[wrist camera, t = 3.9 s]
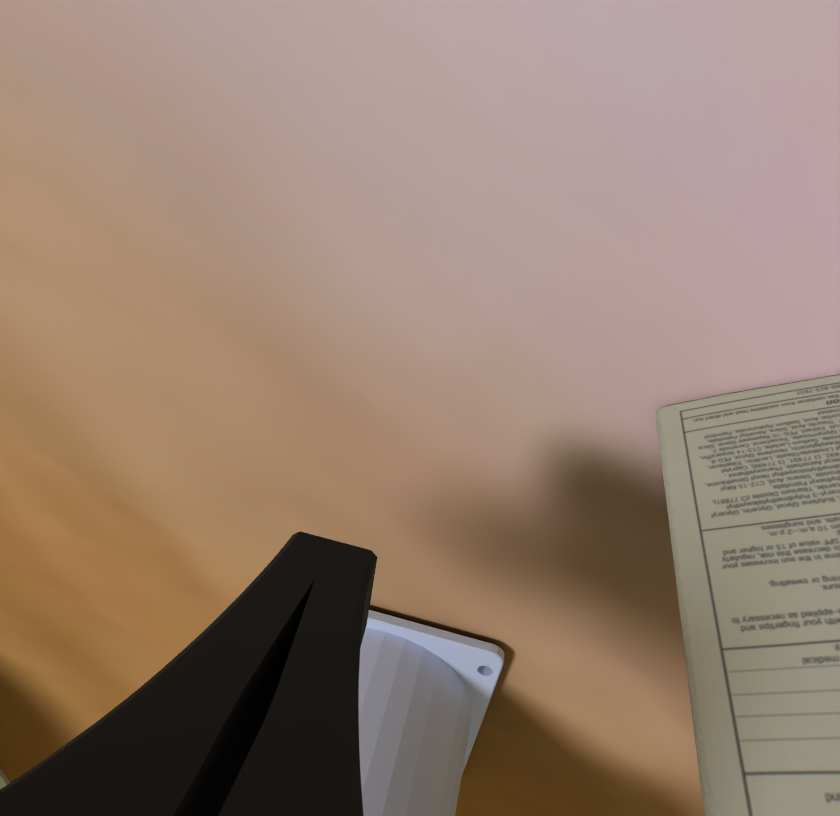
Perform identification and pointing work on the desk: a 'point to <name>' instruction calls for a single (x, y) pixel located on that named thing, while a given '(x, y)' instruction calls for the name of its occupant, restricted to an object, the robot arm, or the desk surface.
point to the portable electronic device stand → (3, 779)
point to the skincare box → (760, 592)
